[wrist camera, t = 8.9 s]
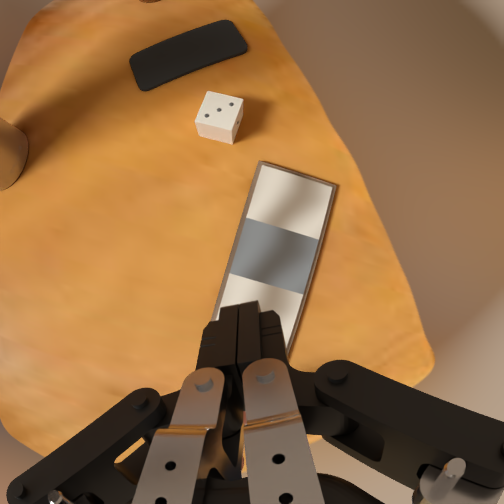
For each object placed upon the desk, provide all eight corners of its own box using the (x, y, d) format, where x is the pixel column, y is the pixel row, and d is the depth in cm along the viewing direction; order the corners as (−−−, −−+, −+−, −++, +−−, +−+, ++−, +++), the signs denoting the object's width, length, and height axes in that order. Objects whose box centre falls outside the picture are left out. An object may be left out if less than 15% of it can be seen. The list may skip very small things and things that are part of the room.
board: (183, 419, 32) (182, 423, 31) (258, 162, 34) (259, 159, 33) (256, 438, 32) (257, 442, 31) (335, 186, 34) (337, 184, 33)
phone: (127, 56, 33) (228, 17, 34) (129, 59, 34) (229, 21, 35) (140, 92, 33) (250, 49, 34) (142, 96, 34) (250, 53, 34)
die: (199, 136, 34) (194, 121, 30) (210, 107, 34) (207, 90, 30) (233, 144, 34) (232, 130, 30) (243, 115, 34) (244, 98, 30)
